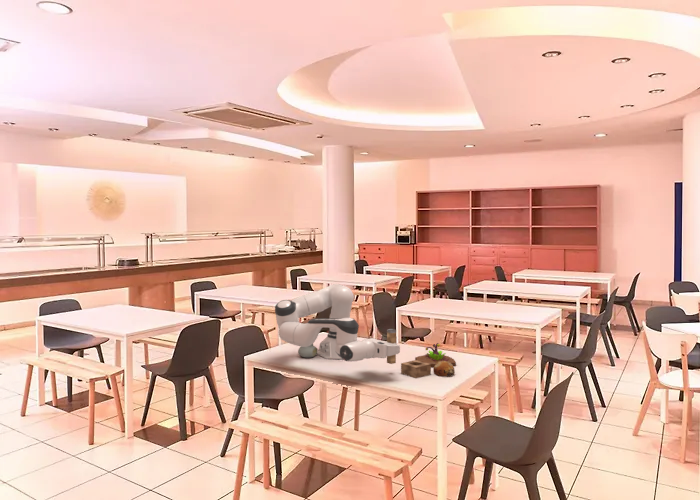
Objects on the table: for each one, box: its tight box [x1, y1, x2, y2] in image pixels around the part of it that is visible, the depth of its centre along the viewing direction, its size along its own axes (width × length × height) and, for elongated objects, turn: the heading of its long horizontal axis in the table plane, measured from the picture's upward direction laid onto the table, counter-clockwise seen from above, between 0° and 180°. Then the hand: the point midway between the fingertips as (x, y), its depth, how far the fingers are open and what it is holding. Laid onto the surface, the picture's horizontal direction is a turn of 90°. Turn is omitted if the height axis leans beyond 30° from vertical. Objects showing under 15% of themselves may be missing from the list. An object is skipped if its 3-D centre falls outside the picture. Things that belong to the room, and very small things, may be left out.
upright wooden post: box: [386, 328, 397, 365], centre depth 248 cm, size 3×3×16 cm
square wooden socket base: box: [400, 359, 432, 379], centre depth 248 cm, size 10×10×5 cm
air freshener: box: [297, 343, 318, 359], centre depth 280 cm, size 11×8×10 cm
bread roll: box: [432, 361, 456, 378], centre depth 248 cm, size 10×10×8 cm
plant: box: [414, 342, 457, 369], centre depth 268 cm, size 20×20×11 cm
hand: (392, 343), depth 248 cm, fingers closed on upright wooden post, 3 cm apart
